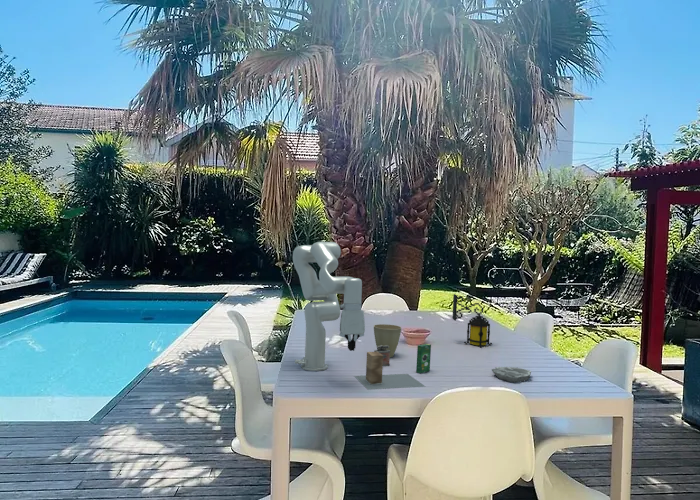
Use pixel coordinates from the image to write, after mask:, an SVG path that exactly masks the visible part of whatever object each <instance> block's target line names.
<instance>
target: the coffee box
mask: <svg viewBox="0 0 700 500" xmlns="http://www.w3.org/2000/svg"><path fill="white" fill-rule="evenodd" d="M416 350H417V352H416V367H415V369H416V370H415V371H416V372H415V373H417V374H423V373H427V372H430V371H431V352H432V343H431V344H430V343H423V344H418V345H417V349H416Z"/></svg>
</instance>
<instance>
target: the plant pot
mask: <svg viewBox="0 0 700 500" xmlns="http://www.w3.org/2000/svg"><path fill="white" fill-rule="evenodd" d="M401 332H402V326H400V325H397V324H387V323H384V324H380V323H379V324H374V325H373V335H374V341H375V346H376V347H377V346H380V345H382V346H386V345H388V346H389V348H386V350H390V358H393V357H394V355H395V352H396V351H397V348H398V346H399V345H398V344H399V340H400V337H401ZM384 350H385V348H384Z"/></svg>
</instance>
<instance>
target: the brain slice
mask: <svg viewBox="0 0 700 500" xmlns="http://www.w3.org/2000/svg"><path fill="white" fill-rule="evenodd" d="M491 371H492V373H493V374H494V375H495V377H497V378H498V379H500V380H501V381H505V382H509V383H521V382H525V381H528V380H529V379H530V377H531V373H532V370H528V369H525V368H521V367H512V366H509V367H508V366H495V367H494V368H491Z"/></svg>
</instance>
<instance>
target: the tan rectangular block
mask: <svg viewBox="0 0 700 500" xmlns="http://www.w3.org/2000/svg"><path fill="white" fill-rule="evenodd" d="M365 365H366V366H365V367H366V368H365V376H366V380H367V381H368V382H369V383H370V384H382V375H383V370H384V369H383V367H384V366H383V355H382V354H380V353H379V352H374V351H366V364H365Z"/></svg>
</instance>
